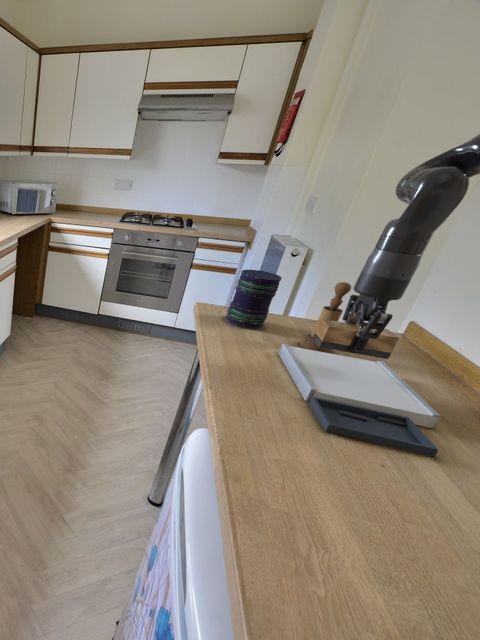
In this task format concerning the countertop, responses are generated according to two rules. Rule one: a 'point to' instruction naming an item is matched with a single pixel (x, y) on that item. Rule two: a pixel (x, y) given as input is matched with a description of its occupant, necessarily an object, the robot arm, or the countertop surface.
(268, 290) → the storage jar
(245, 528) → the countertop surface
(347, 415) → the smudge
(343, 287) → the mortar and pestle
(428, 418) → the board
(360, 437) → the tray
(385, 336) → the eraser
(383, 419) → the smudge
